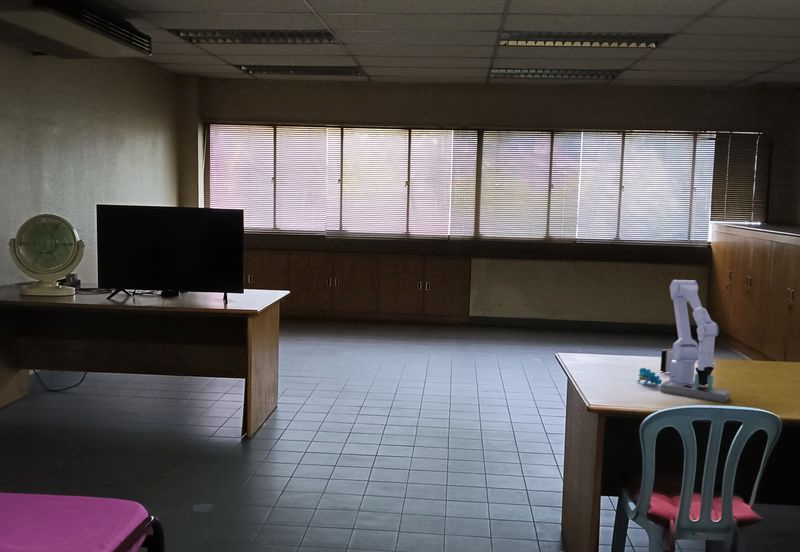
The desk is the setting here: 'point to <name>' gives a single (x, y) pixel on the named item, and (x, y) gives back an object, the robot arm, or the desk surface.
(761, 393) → the desk surface
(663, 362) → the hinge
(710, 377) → the upright aqua box
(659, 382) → the blue lumpy piece
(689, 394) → the grey board with slots
